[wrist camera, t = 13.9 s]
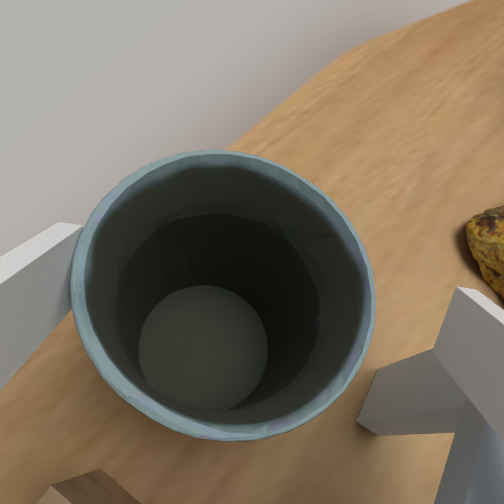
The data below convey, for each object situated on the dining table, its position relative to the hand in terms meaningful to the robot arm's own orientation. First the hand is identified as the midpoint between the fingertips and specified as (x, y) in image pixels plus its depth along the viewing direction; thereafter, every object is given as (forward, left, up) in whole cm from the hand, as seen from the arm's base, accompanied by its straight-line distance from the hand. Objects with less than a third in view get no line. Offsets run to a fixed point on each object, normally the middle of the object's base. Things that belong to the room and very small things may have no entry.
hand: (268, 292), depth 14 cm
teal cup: (+1, +1, -11) cm, 11 cm away
